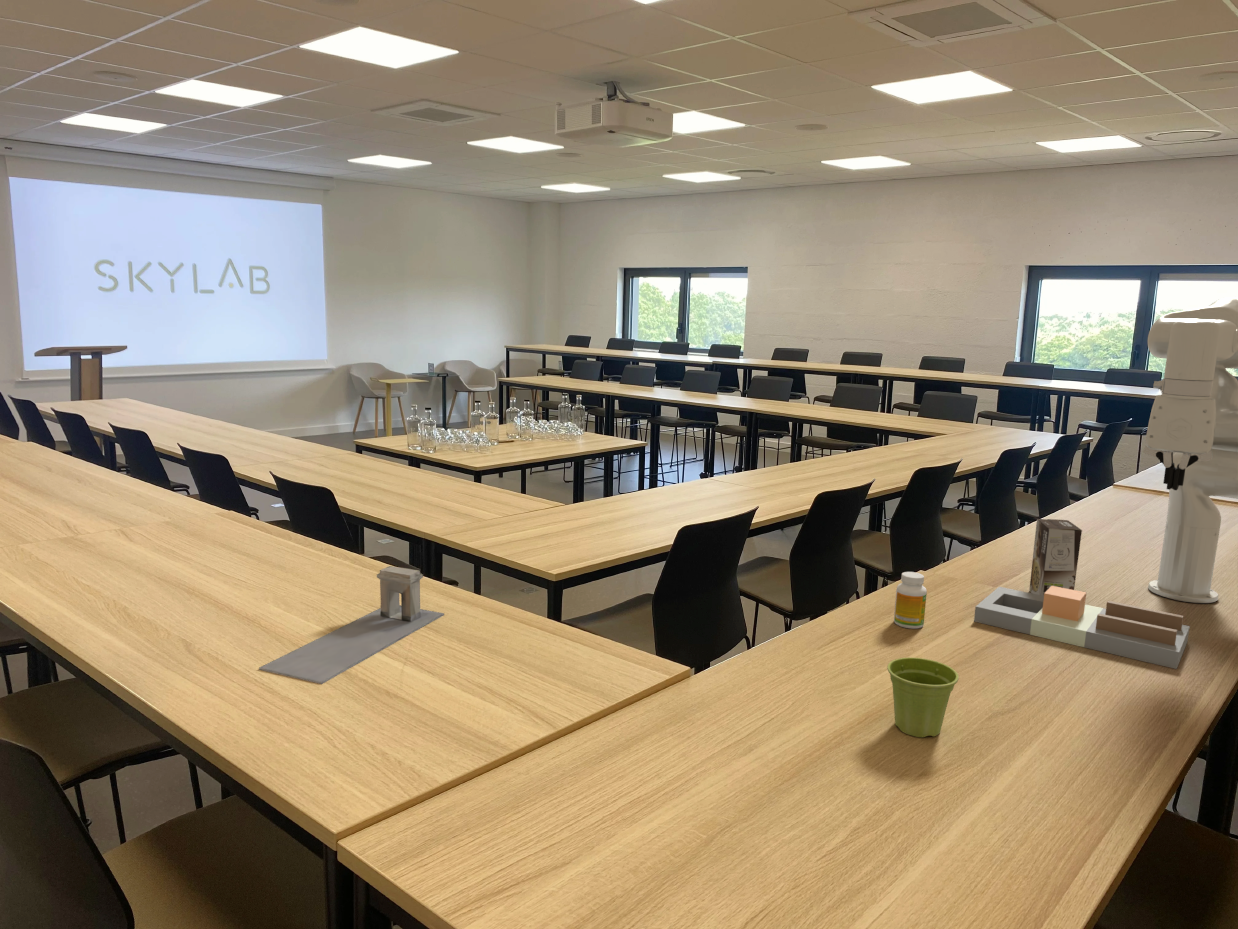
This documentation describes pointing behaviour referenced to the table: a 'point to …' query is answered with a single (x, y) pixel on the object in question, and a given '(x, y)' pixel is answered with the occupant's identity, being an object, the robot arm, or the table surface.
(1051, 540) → the coffee box
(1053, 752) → the table surface
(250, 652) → the table surface
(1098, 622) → the compartment tray
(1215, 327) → the robot arm
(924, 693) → the plant pot
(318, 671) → the monument
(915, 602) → the supplement bottle
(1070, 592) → the block
